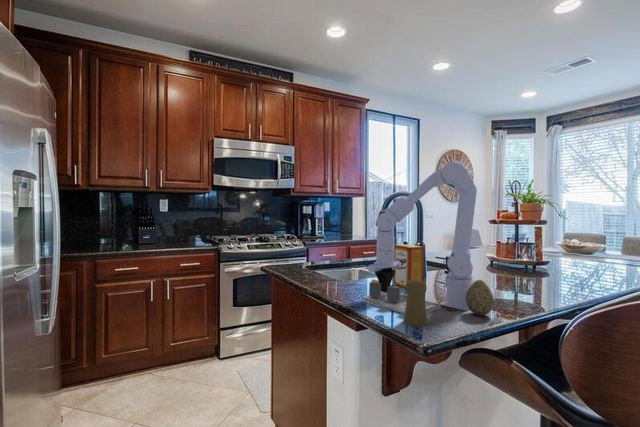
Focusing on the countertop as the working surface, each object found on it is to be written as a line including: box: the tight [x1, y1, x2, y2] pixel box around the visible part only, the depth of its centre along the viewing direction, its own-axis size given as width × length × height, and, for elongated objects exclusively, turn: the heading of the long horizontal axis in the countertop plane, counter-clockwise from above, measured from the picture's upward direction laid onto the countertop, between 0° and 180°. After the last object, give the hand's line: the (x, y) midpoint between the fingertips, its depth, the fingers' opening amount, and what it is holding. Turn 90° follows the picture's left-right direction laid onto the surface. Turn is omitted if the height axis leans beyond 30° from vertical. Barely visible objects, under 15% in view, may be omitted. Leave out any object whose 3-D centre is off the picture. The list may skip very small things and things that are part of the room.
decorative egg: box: [466, 279, 495, 316], centre depth 95 cm, size 7×7×10 cm
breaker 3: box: [368, 279, 382, 298], centre depth 107 cm, size 2×3×5 cm, turn 42°
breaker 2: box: [387, 285, 401, 302], centre depth 102 cm, size 2×3×4 cm, turn 42°
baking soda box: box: [392, 243, 425, 290], centre depth 129 cm, size 10×6×16 cm
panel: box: [361, 291, 440, 315], centre depth 104 cm, size 12×20×2 cm, turn 42°
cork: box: [403, 280, 428, 327], centre depth 88 cm, size 6×6×11 cm
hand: (384, 291), depth 110 cm, fingers closed
